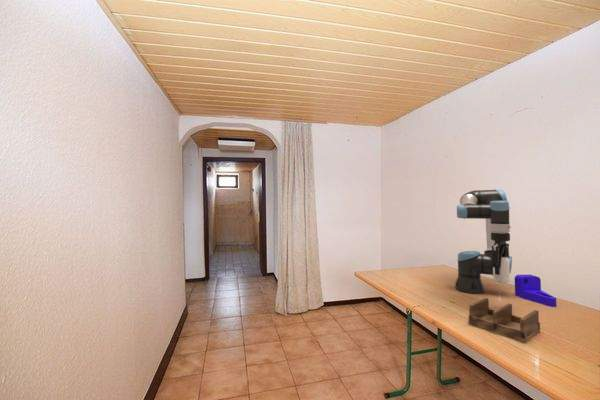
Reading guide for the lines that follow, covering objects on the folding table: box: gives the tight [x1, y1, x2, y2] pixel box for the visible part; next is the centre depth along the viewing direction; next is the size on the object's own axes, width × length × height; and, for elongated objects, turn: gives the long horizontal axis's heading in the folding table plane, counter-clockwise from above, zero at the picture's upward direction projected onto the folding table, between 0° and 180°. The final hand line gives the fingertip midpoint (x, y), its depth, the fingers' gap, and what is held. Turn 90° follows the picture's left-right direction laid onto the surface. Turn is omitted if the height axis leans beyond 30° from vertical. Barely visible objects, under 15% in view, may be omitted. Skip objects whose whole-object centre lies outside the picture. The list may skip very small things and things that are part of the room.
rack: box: [468, 297, 541, 344], centre depth 114 cm, size 20×16×8 cm
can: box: [492, 256, 511, 283], centre depth 131 cm, size 6×6×12 cm
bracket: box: [514, 274, 557, 308], centre depth 145 cm, size 18×11×12 cm, turn 1°
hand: (501, 279), depth 131 cm, fingers closed on can, 6 cm apart
